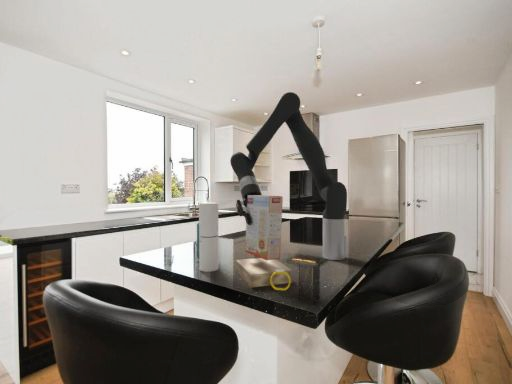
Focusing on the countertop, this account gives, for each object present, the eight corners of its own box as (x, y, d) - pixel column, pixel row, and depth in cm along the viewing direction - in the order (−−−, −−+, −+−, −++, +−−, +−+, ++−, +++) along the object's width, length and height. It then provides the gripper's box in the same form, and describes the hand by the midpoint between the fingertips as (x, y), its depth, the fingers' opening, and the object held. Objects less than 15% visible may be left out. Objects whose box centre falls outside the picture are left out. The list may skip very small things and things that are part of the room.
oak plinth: (271, 267, 104) (271, 256, 104) (292, 282, 87) (292, 270, 87) (236, 270, 99) (236, 260, 99) (251, 287, 82) (250, 274, 82)
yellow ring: (270, 291, 80) (269, 271, 80) (271, 288, 83) (270, 269, 83) (290, 291, 79) (289, 271, 79) (291, 288, 82) (289, 268, 82)
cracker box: (281, 259, 89) (283, 196, 89) (266, 261, 86) (268, 195, 86) (258, 250, 101) (260, 195, 101) (244, 252, 98) (246, 194, 98)
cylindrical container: (209, 272, 97) (209, 203, 97) (195, 269, 101) (195, 203, 101) (222, 267, 103) (222, 202, 103) (208, 265, 107) (208, 202, 107)
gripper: (234, 182, 101) (242, 217, 90) (269, 183, 106) (281, 216, 95) (230, 196, 106) (238, 230, 95) (264, 196, 111) (275, 229, 100)
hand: (260, 223), depth 95 cm, fingers closed on cracker box, 6 cm apart
